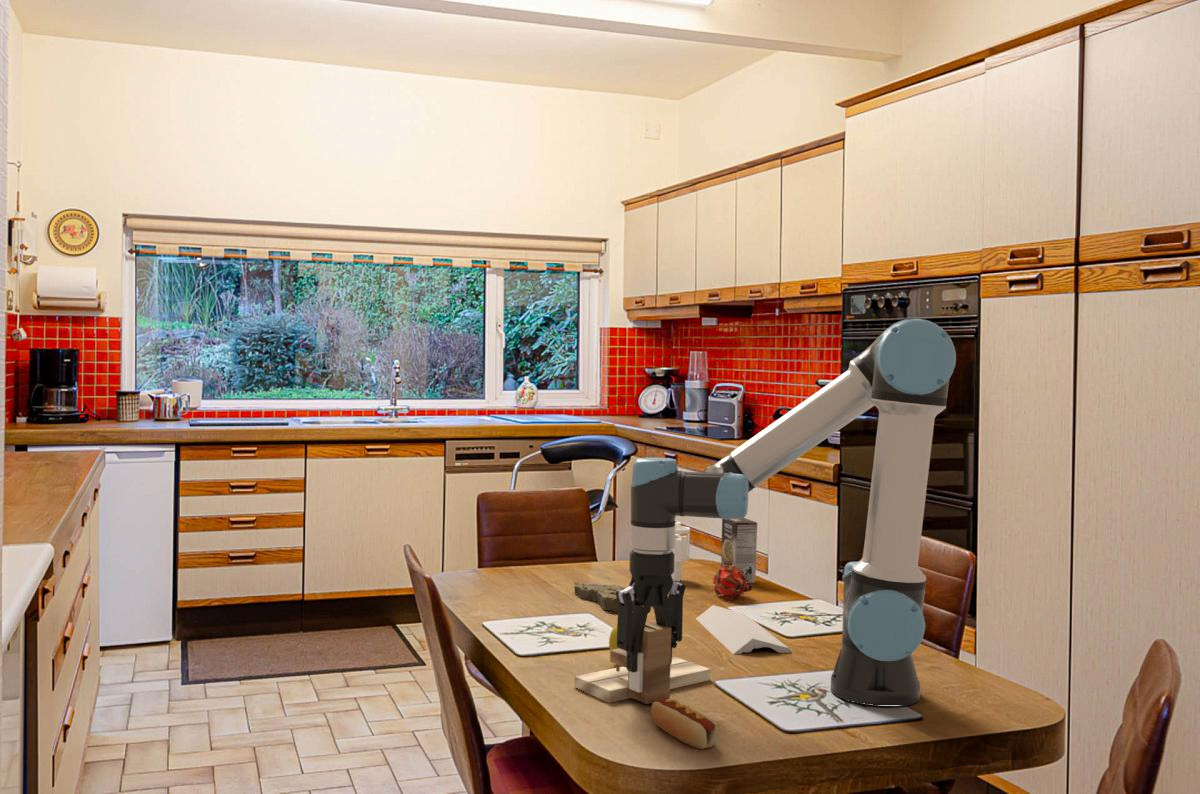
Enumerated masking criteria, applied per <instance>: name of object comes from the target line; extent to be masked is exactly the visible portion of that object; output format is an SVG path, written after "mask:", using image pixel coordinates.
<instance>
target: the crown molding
mask: <svg viewBox="0 0 1200 794" xmlns="http://www.w3.org/2000/svg"><path fill="white" fill-rule="evenodd" d="M695 619H696V621H697V622H698V623H700V624H701V625H702V626H703V627H704V628H705V629H706V630H707V631H708V632H709V633H710V634H711V635H712V636H713V637H714V638H715V639H716V640H718V641H719V643H721V644H722V645H723V646H724V647H725V648H726V650H727V651H729V652H730V653H731V654H732V655H741V654H742V653H751V652H752V651H753V649H761V648H770V649H773V651H775V652H777V653H778V654H786V653H787V654H789V653H793V652H792V651H791V649H790V648H789V647H788V646H787V645H785V643H783V642H782V641H780V640H779V639H778V638H776V637H775V636H774V635H773V634H771V633H770V632H769V631H767V629H765V628H764V627H763V626H762V625H760V624H759V623H758V622H756V621H755V620H754V619H753V618H751V617H750V616H749V615H748V614H746V613H744V612H740V611H736V610H732V609H729V608H725V607H723V606H722V607H721V606H717V605H715V604H713V605H711V606H710V607H709V608H707V609H706V610H705V611H703V612H702V613H701V614H699V616H697V617H696V618H695Z"/></svg>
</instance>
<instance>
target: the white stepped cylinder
mask: <svg viewBox="0 0 1200 794" xmlns="http://www.w3.org/2000/svg"><path fill="white" fill-rule="evenodd" d="M690 537H691V528H690V527H689V526H682V522H681V521H675V548H674V549H673V550H671V551H672V552H673V553H674V554H675V556H674V572H673V574H671V576H672V579H673V582H681V581H682V563H683V562H689V561H690V549H691V548H690V546H691V545H690V542H691V541H690V540H691V538H690ZM680 580H681V581H680Z"/></svg>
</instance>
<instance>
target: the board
mask: <svg viewBox="0 0 1200 794" xmlns="http://www.w3.org/2000/svg"><path fill="white" fill-rule="evenodd" d="M711 672H712V671H711V668H708V667H706V666H702V665H699V664H697V663H694V662H692V661H689V660H685V659H683V658H680V657H677V656H673V655H672V663H671V665H670V690H673V689H678V688H681V687H687V686H690V685H694V684H699V683H703V682H709V681H711V674H712V673H711ZM576 688H578V689H577V690H579V689H580V690H579V691H581V690H582V692H583V691H584V693H586V694H589V695H590V696H593V697H595V698H597V699H600V700H602V701H604V702H606V703H609V704H610V703H615V702H620V701H624V700H628V699H632V698H631V697H629V696H628V670H627V668H625V667H623V666H620V671H619V672H617V671H616V667H613V668H609V669H604V670H599V671H595V672H589V673H584V674H579V675H574V689H576Z"/></svg>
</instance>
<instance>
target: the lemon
mask: <svg viewBox="0 0 1200 794" xmlns="http://www.w3.org/2000/svg"><path fill="white" fill-rule="evenodd" d="M608 639H609V641H608V646H609V651H610V650H614V649H620V648H618V647H617V624H616V625H615V626H614V627H613V628H612V630H611V631H610V635H609V637H608ZM622 650H623V649H622Z"/></svg>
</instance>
